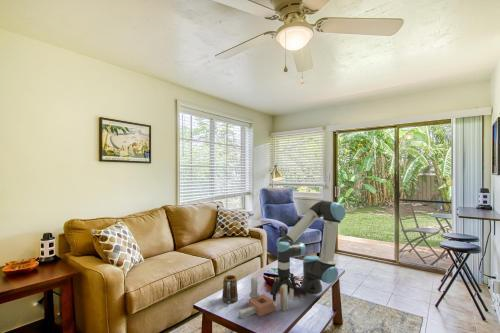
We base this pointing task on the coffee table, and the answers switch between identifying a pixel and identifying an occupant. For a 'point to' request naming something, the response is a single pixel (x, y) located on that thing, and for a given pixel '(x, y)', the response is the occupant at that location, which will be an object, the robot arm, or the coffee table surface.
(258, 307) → the square hole peg fixture
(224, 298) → the mug
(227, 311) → the coffee table surface
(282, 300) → the wedge pin
